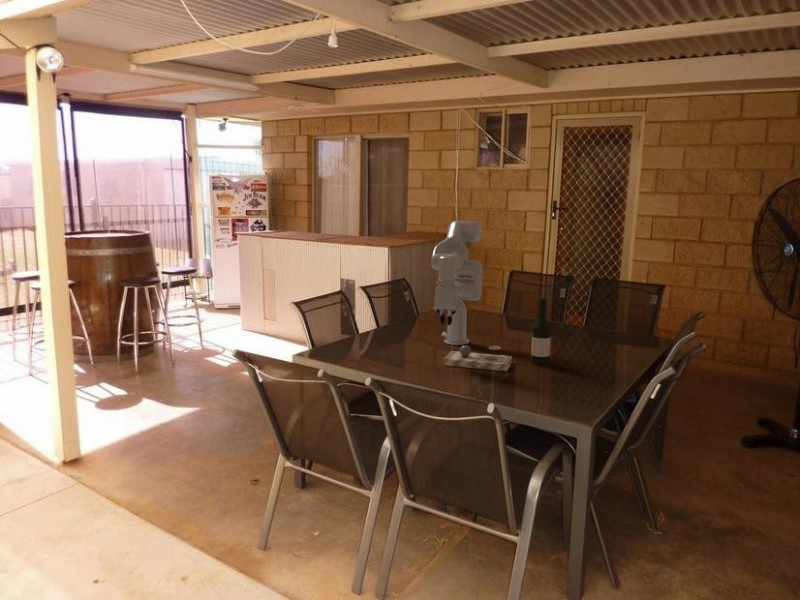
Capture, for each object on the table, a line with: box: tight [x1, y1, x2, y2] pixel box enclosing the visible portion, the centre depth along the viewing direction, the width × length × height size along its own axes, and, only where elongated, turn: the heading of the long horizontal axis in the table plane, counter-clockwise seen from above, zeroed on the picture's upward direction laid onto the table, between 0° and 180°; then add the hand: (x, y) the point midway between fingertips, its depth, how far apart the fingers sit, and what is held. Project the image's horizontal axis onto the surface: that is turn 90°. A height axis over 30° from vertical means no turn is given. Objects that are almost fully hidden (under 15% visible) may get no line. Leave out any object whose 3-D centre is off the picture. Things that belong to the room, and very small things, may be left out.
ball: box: [459, 344, 472, 356], centre depth 272 cm, size 5×5×5 cm
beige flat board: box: [443, 350, 513, 372], centre depth 270 cm, size 28×14×3 cm, turn 71°
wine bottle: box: [530, 296, 552, 367], centre depth 269 cm, size 8×8×30 cm
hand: (446, 323), depth 272 cm, fingers closed
